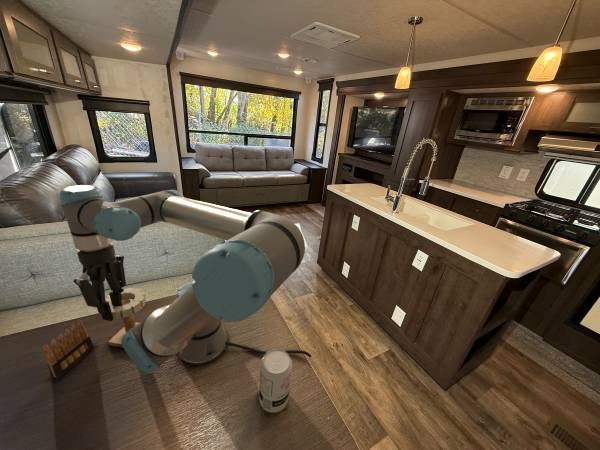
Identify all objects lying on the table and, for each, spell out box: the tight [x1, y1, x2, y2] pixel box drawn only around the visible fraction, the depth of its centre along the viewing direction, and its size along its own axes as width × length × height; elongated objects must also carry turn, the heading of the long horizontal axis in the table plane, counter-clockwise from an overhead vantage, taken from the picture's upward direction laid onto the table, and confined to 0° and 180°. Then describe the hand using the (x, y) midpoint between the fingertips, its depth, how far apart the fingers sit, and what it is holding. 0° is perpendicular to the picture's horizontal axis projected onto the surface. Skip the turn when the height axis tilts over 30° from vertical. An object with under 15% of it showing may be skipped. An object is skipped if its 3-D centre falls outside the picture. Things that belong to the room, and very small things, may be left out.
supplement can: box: [258, 348, 293, 414], centre depth 65 cm, size 8×8×15 cm
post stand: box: [107, 299, 141, 349], centre depth 80 cm, size 9×9×14 cm
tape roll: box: [105, 287, 147, 320], centre depth 77 cm, size 11×11×3 cm
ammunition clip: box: [43, 319, 95, 380], centre depth 70 cm, size 11×2×12 cm, turn 169°
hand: (113, 314), depth 73 cm, fingers closed on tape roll, 3 cm apart
